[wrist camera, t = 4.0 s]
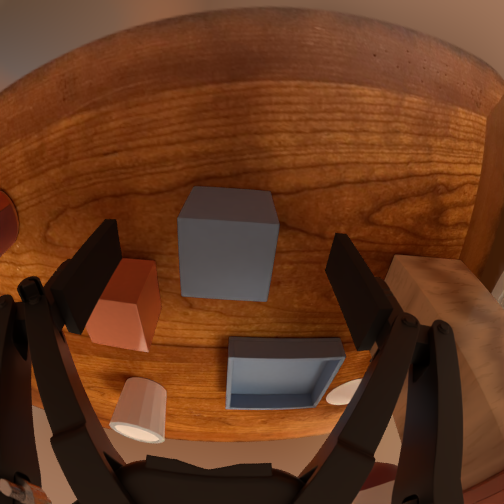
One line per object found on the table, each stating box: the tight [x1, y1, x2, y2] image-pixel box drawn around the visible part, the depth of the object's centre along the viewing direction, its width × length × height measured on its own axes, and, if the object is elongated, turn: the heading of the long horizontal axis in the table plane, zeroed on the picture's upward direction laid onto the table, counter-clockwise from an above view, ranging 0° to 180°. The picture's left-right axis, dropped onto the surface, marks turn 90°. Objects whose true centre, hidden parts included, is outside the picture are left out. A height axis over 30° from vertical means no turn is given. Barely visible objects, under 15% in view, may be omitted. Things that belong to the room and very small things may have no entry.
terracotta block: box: [85, 258, 162, 352], centre depth 19 cm, size 5×5×5 cm
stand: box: [369, 255, 504, 504], centre depth 14 cm, size 11×11×22 cm
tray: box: [226, 337, 346, 410], centre depth 27 cm, size 11×11×2 cm
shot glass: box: [109, 377, 167, 443], centre depth 27 cm, size 7×7×7 cm
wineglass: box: [326, 379, 398, 504], centre depth 24 cm, size 8×9×20 cm
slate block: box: [177, 186, 280, 302], centre depth 16 cm, size 5×5×5 cm
